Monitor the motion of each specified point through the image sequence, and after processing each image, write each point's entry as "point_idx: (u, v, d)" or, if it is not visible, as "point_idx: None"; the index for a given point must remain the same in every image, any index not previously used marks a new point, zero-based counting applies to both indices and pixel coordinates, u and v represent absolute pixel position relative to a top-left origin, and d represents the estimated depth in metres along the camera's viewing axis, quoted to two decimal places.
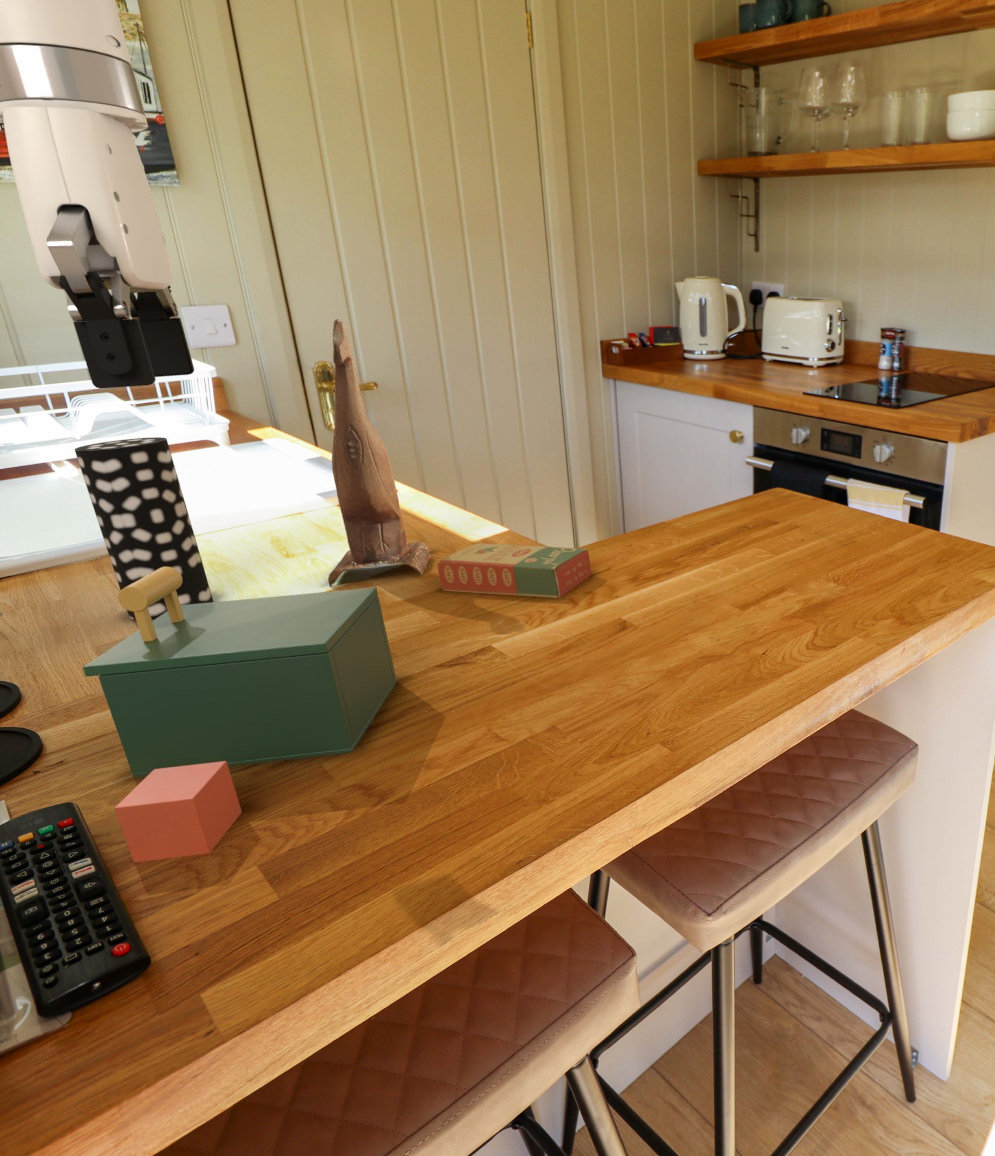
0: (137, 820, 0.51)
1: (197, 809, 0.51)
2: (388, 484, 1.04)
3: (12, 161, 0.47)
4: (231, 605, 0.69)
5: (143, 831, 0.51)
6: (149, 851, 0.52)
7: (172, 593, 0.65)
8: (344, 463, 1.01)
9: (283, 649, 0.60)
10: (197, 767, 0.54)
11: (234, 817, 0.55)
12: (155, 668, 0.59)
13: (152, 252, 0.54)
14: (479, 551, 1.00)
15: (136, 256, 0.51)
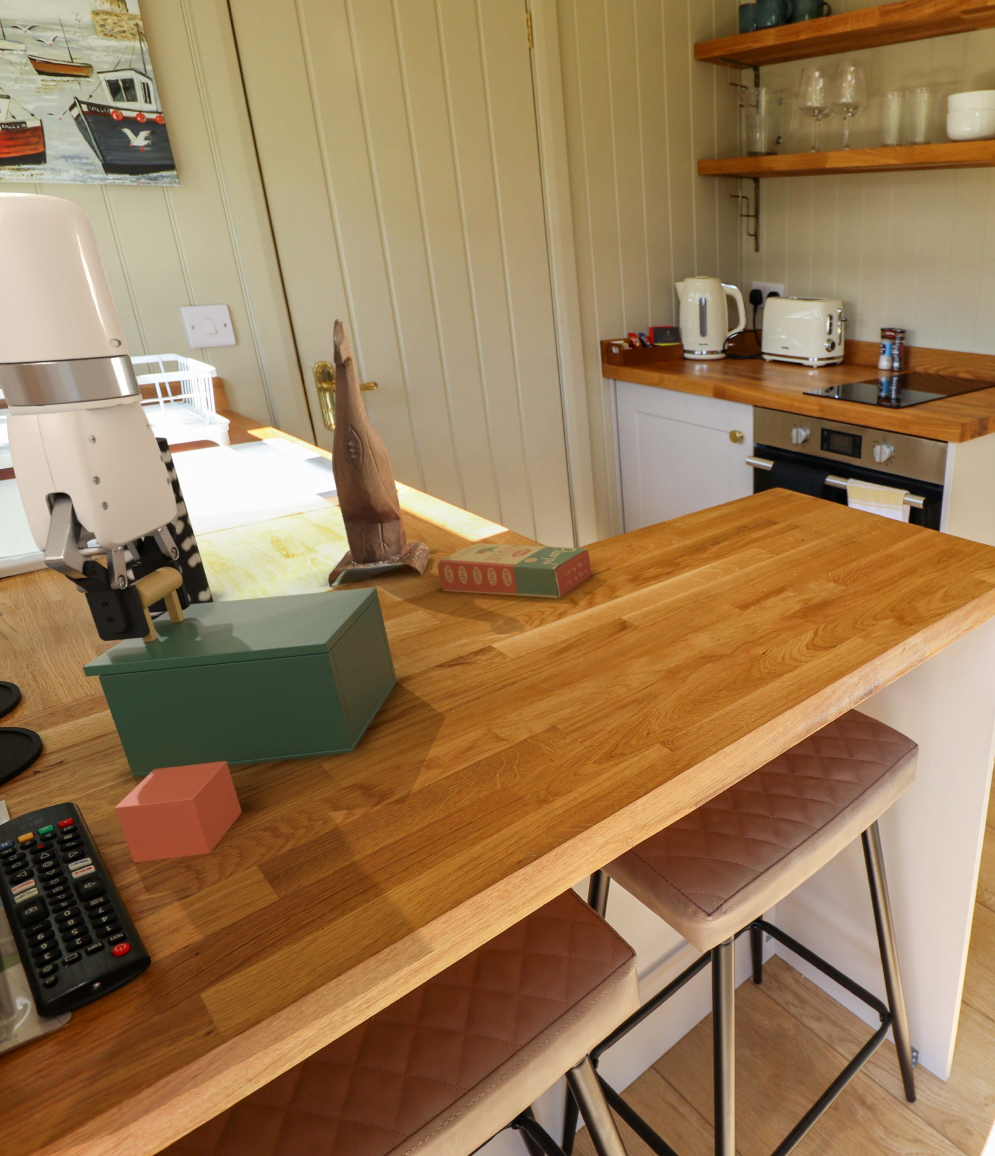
0: (137, 820, 0.51)
1: (197, 809, 0.51)
2: (388, 484, 1.04)
3: (12, 459, 0.55)
4: (231, 605, 0.69)
5: (143, 831, 0.51)
6: (149, 851, 0.52)
7: (172, 593, 0.65)
8: (344, 463, 1.01)
9: (283, 649, 0.60)
10: (197, 767, 0.54)
11: (234, 817, 0.55)
12: (155, 668, 0.59)
13: (142, 508, 0.61)
14: (479, 551, 1.00)
15: (117, 524, 0.58)
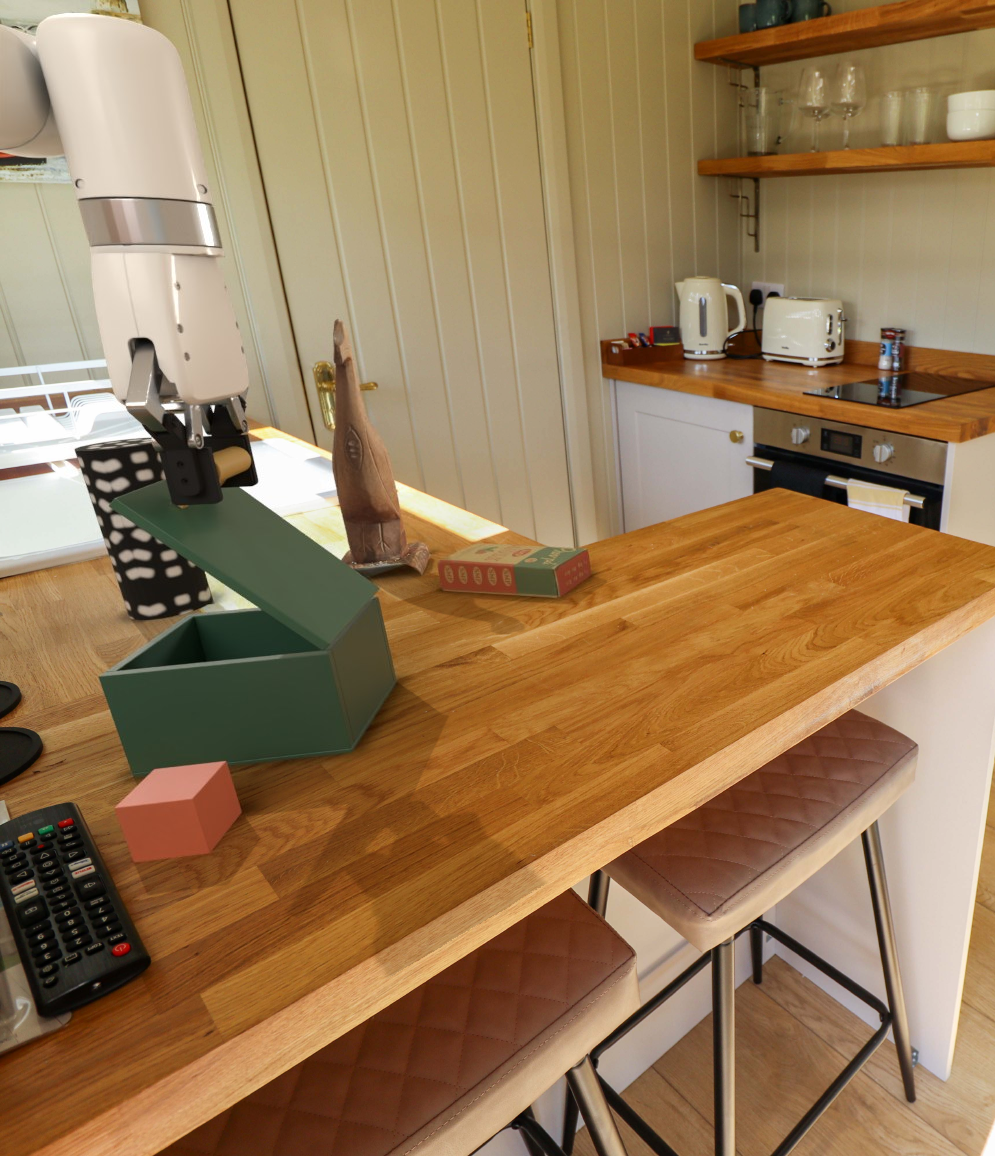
0: (137, 820, 0.51)
1: (197, 809, 0.51)
2: (388, 484, 1.04)
3: (95, 300, 0.53)
4: (256, 508, 0.67)
5: (143, 831, 0.51)
6: (149, 851, 0.52)
7: None
8: (344, 463, 1.01)
9: (292, 621, 0.60)
10: (197, 767, 0.54)
11: (234, 817, 0.55)
12: (174, 549, 0.57)
13: (220, 369, 0.59)
14: (479, 551, 1.00)
15: (197, 379, 0.56)
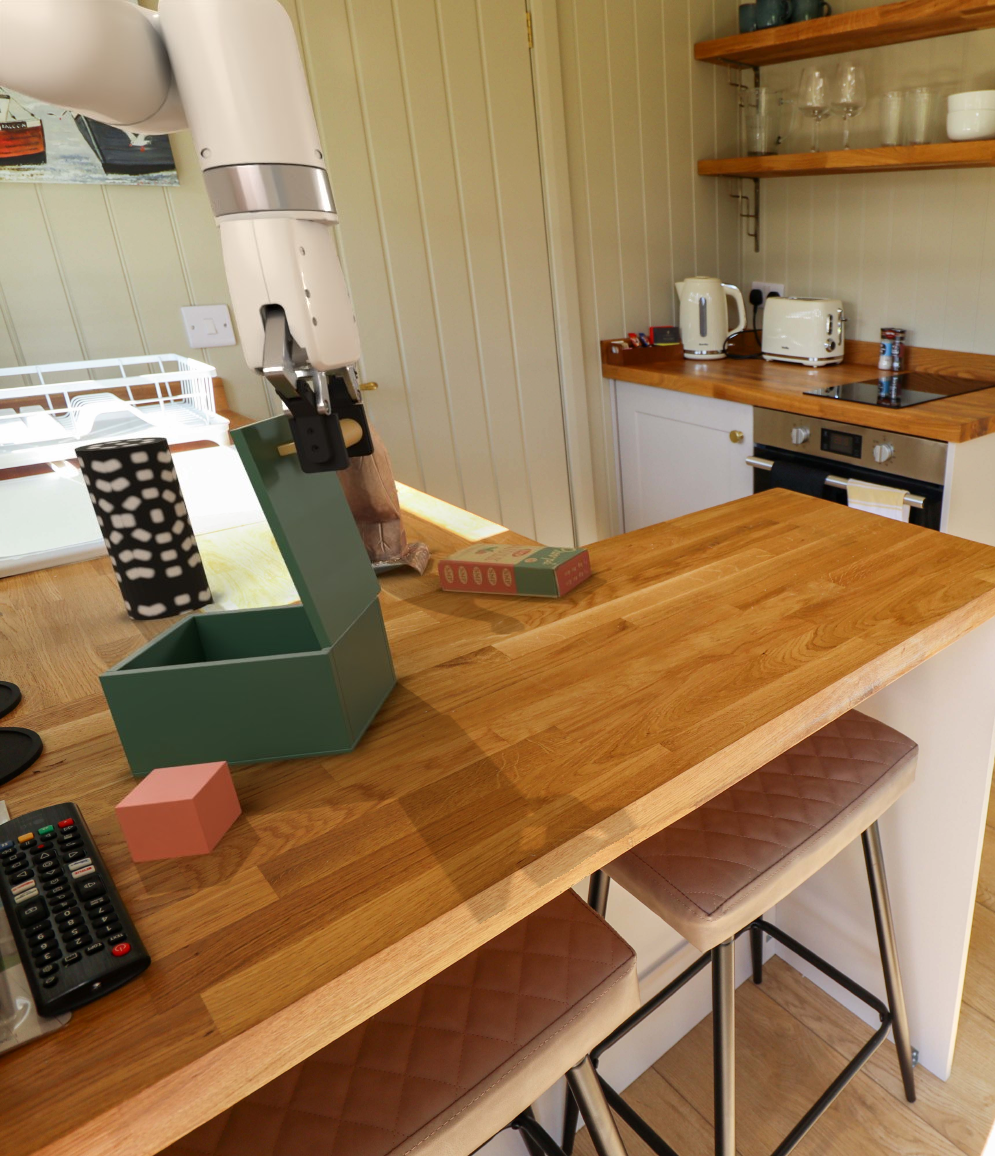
0: (137, 820, 0.51)
1: (197, 809, 0.51)
2: (388, 484, 1.04)
3: (226, 269, 0.53)
4: None
5: (143, 831, 0.51)
6: (149, 851, 0.52)
7: None
8: None
9: (314, 610, 0.60)
10: (197, 767, 0.54)
11: (234, 817, 0.55)
12: (258, 497, 0.56)
13: (340, 336, 0.59)
14: (479, 551, 1.00)
15: (323, 344, 0.57)
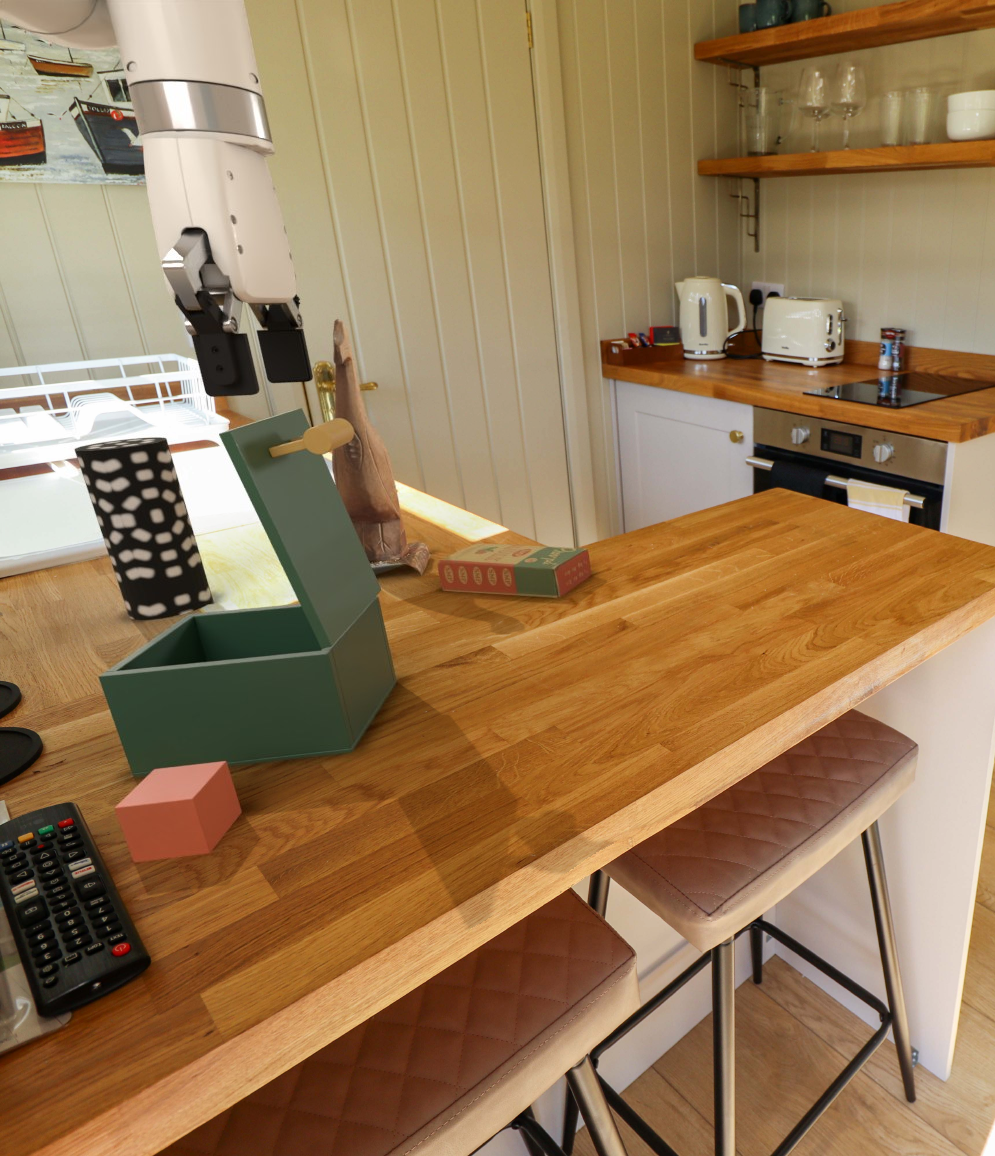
0: (137, 820, 0.51)
1: (197, 809, 0.51)
2: (388, 484, 1.04)
3: (147, 188, 0.52)
4: (321, 471, 0.67)
5: (143, 831, 0.51)
6: (149, 851, 0.52)
7: None
8: (344, 463, 1.01)
9: (312, 611, 0.60)
10: (197, 767, 0.54)
11: (234, 817, 0.55)
12: (251, 498, 0.56)
13: (270, 269, 0.58)
14: (479, 551, 1.00)
15: (250, 274, 0.55)
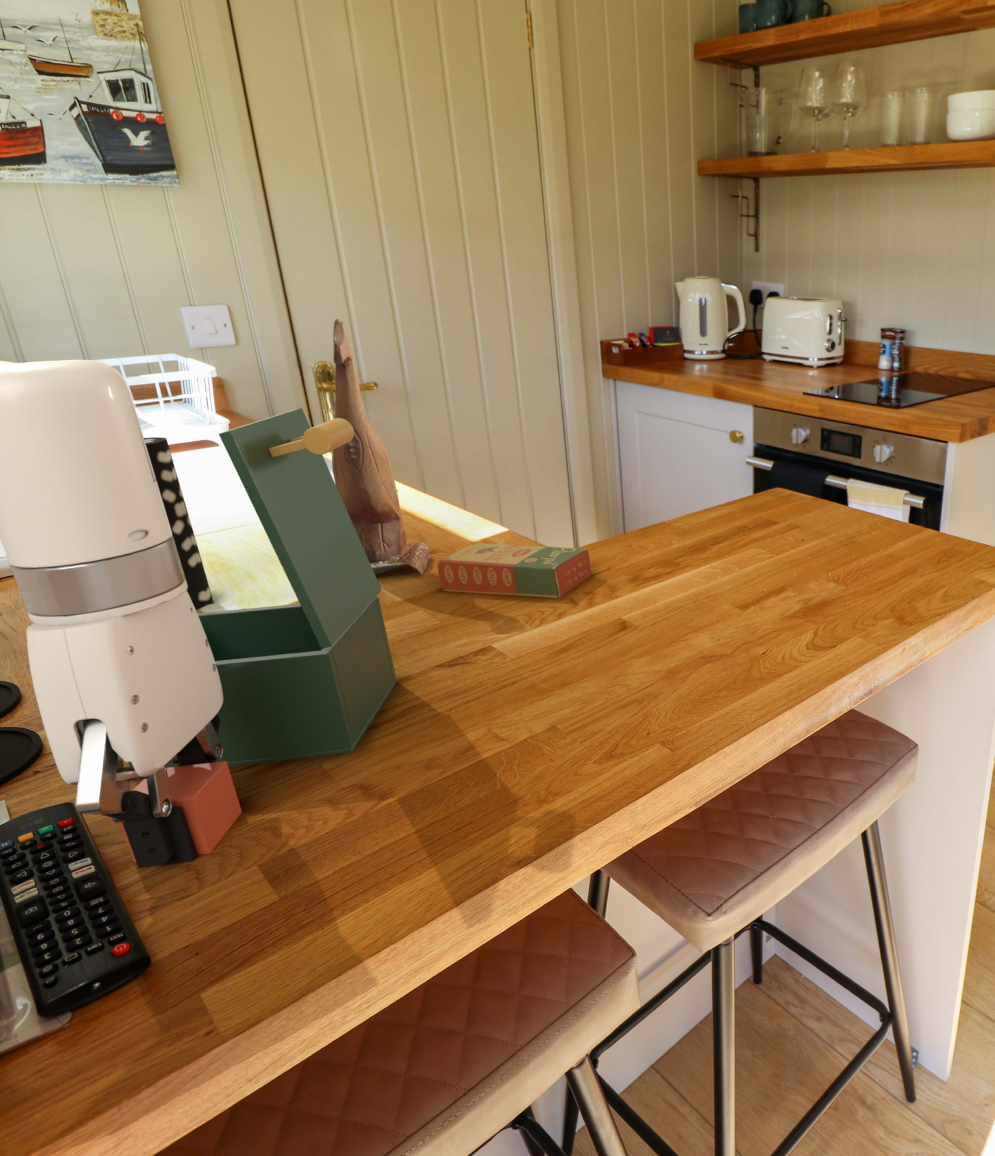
0: None
1: (197, 809, 0.51)
2: (388, 484, 1.04)
3: (33, 682, 0.45)
4: (321, 471, 0.67)
5: None
6: None
7: None
8: (344, 463, 1.01)
9: (312, 611, 0.60)
10: (197, 767, 0.54)
11: (234, 817, 0.55)
12: (251, 498, 0.56)
13: (186, 713, 0.51)
14: (479, 551, 1.00)
15: (158, 745, 0.48)
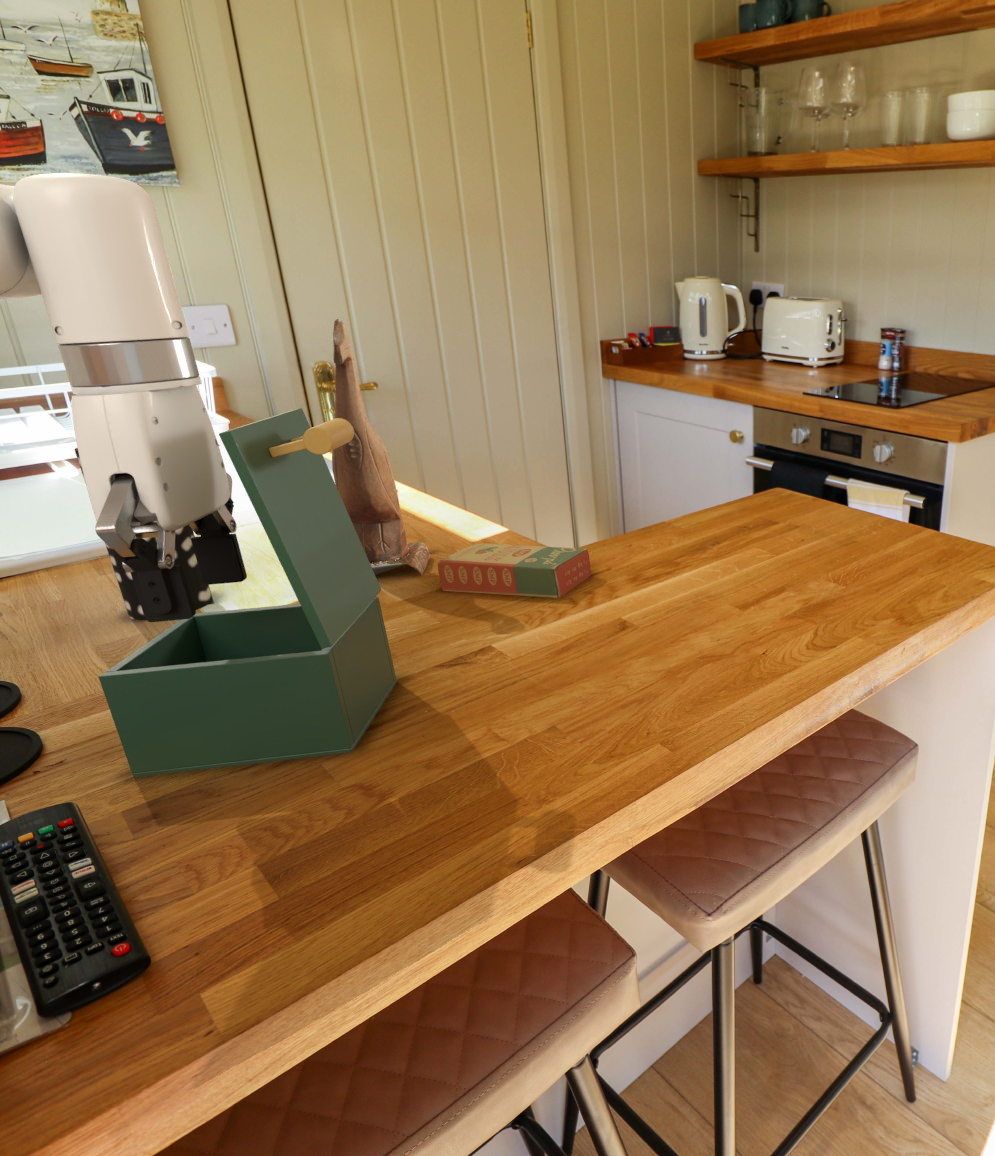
0: None
1: None
2: (388, 484, 1.04)
3: (76, 440, 0.55)
4: (321, 471, 0.67)
5: None
6: None
7: None
8: (344, 463, 1.01)
9: (312, 611, 0.60)
10: None
11: None
12: (251, 498, 0.56)
13: (200, 490, 0.61)
14: (479, 551, 1.00)
15: (177, 506, 0.59)
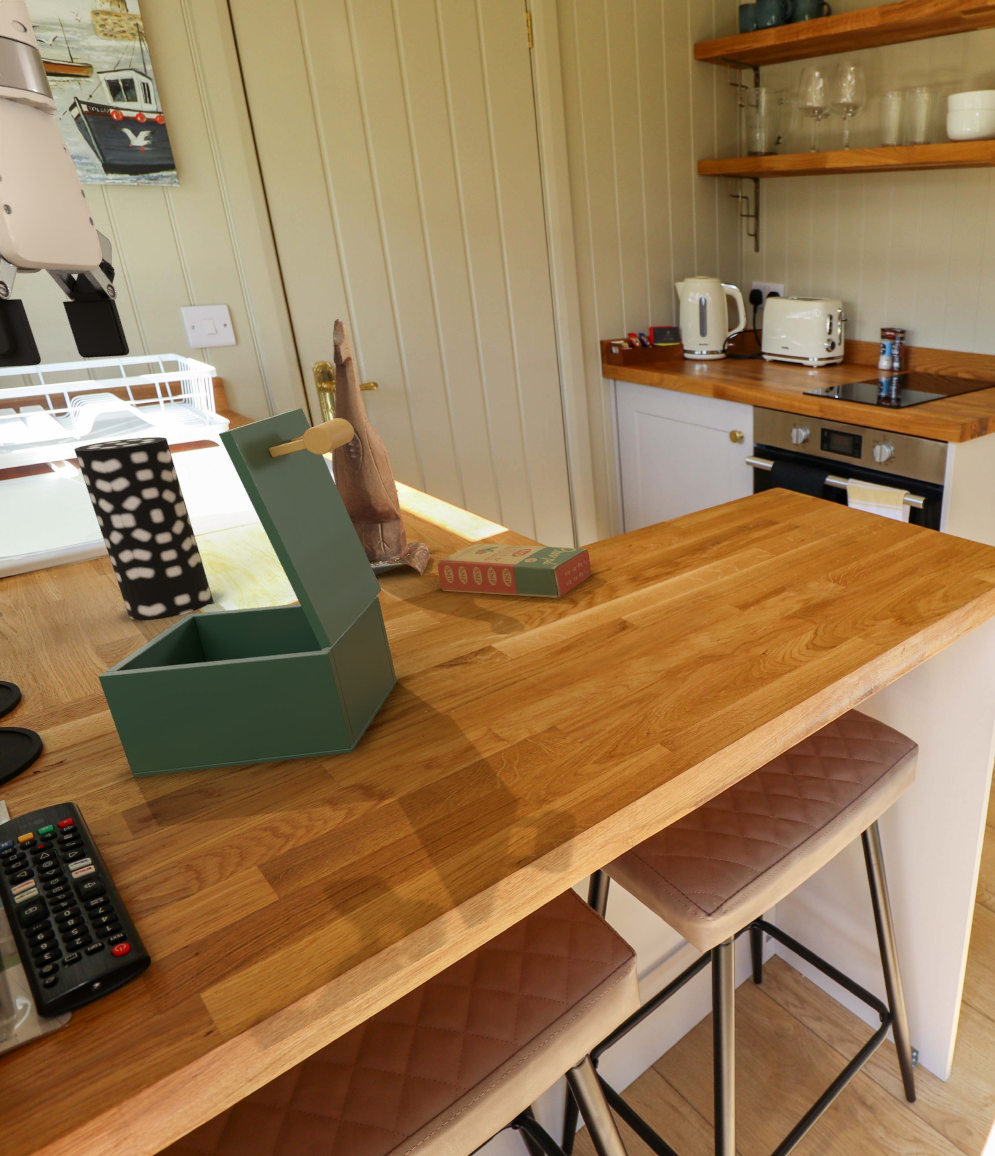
0: None
1: None
2: (388, 484, 1.04)
3: None
4: (321, 471, 0.67)
5: None
6: None
7: None
8: (344, 463, 1.01)
9: (312, 611, 0.60)
10: None
11: None
12: (251, 498, 0.56)
13: (56, 233, 0.54)
14: (479, 551, 1.00)
15: (23, 237, 0.52)
